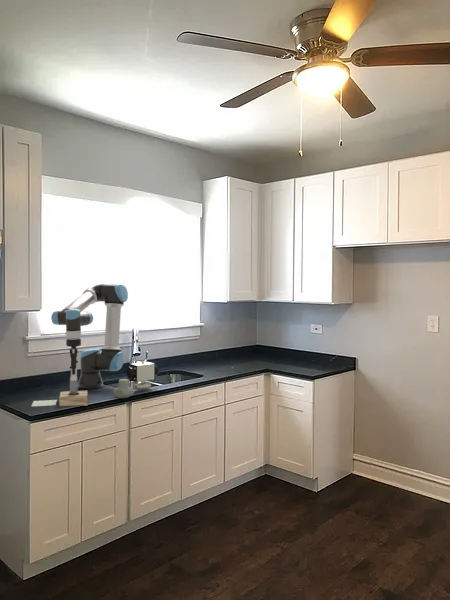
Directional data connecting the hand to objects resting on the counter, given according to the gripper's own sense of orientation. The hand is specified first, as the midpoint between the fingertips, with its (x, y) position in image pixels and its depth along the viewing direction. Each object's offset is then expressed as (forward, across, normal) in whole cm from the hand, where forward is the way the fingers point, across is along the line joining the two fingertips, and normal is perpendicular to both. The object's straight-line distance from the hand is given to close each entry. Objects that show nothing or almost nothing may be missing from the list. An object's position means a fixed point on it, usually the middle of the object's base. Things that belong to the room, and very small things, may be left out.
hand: (74, 377), depth 268 cm
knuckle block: (+14, 0, 0) cm, 14 cm away
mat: (+14, -2, -15) cm, 20 cm away
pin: (+14, 0, 0) cm, 14 cm away
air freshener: (+14, -8, +27) cm, 31 cm away
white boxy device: (+14, -24, +39) cm, 48 cm away
